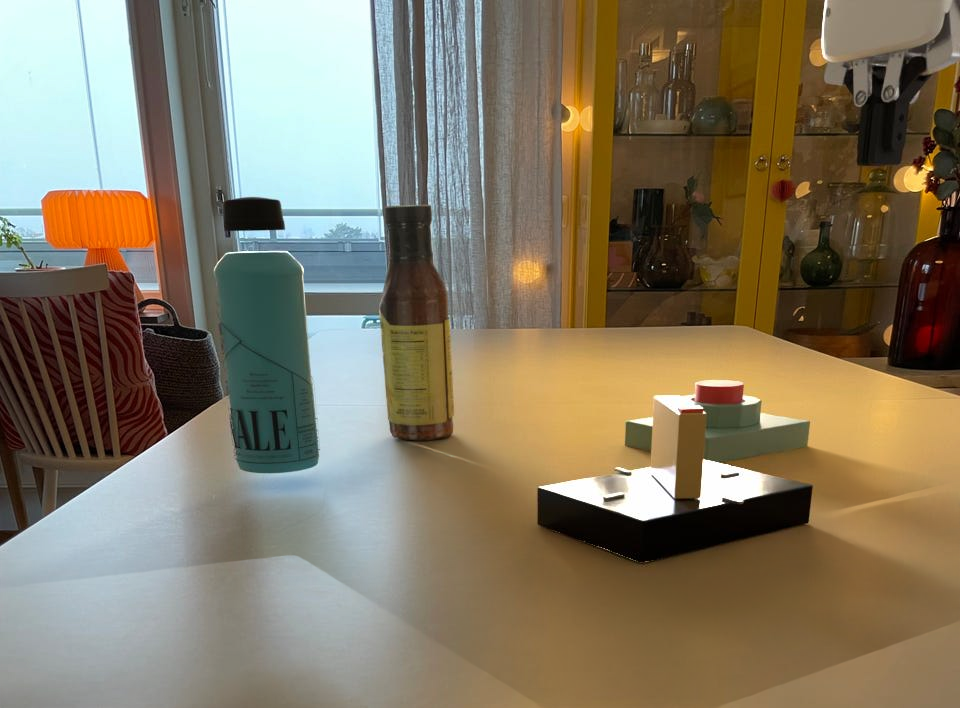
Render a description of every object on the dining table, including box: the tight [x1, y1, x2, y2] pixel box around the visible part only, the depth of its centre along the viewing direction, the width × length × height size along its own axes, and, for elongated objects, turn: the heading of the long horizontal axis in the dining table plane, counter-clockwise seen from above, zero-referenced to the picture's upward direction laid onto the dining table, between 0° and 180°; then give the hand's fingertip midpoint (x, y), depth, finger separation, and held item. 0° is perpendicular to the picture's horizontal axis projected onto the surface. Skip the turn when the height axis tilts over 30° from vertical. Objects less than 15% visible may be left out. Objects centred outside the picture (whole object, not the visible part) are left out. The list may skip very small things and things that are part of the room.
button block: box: [624, 394, 811, 463], centre depth 83 cm, size 12×10×4 cm
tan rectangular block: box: [650, 394, 707, 499], centre depth 60 cm, size 7×2×5 cm, turn 3°
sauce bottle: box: [378, 204, 456, 442], centre depth 87 cm, size 7×6×20 cm
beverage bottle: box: [213, 196, 321, 474], centre depth 70 cm, size 6×7×20 cm
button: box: [694, 379, 745, 404], centre depth 82 cm, size 4×4×2 cm
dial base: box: [536, 460, 814, 563], centre depth 61 cm, size 14×11×3 cm
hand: (878, 164), depth 73 cm, fingers closed
